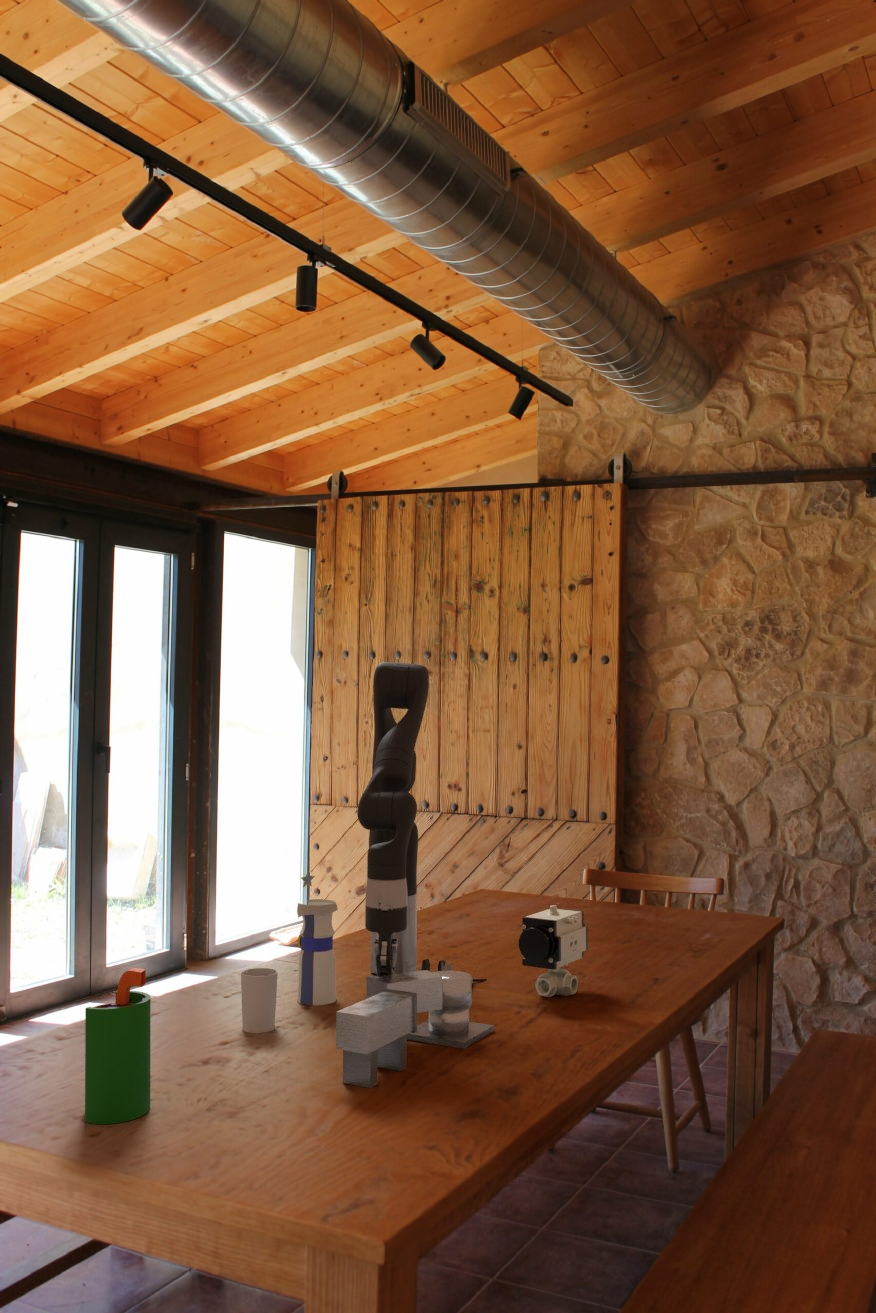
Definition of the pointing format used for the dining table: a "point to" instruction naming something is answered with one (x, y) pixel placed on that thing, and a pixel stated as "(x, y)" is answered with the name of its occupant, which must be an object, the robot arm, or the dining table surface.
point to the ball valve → (554, 947)
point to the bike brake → (441, 967)
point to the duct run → (375, 1035)
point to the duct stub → (450, 1029)
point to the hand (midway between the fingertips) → (385, 1000)
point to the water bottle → (316, 951)
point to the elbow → (427, 988)
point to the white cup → (258, 999)
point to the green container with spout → (118, 1054)
